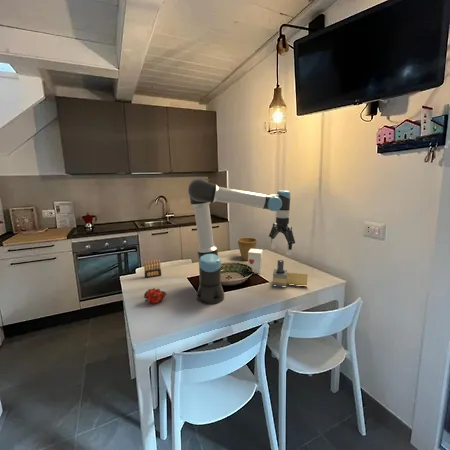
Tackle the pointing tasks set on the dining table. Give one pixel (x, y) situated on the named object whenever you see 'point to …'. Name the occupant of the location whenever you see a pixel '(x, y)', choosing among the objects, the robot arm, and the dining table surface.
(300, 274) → the hinge
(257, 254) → the supplement box
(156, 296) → the dragon fruit
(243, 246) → the plant pot
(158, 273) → the ammunition clip
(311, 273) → the dining table surface
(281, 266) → the hinge pin
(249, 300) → the dining table surface
